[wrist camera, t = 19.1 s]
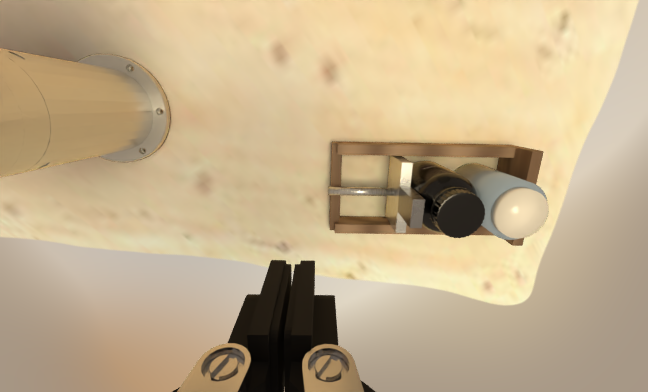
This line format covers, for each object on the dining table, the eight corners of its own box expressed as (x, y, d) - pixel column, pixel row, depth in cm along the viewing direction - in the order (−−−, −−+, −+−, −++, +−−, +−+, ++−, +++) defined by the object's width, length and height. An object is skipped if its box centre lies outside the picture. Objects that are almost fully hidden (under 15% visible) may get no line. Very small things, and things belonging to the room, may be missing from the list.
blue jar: (443, 208, 42) (484, 243, 31) (450, 162, 40) (496, 182, 29) (489, 209, 42) (546, 244, 31) (498, 163, 40) (561, 184, 29)
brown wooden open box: (329, 224, 42) (330, 242, 36) (331, 141, 39) (333, 147, 33) (494, 226, 42) (522, 245, 37) (510, 144, 39) (543, 151, 33)
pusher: (326, 214, 41) (329, 251, 31) (328, 153, 39) (331, 170, 28) (393, 215, 41) (418, 252, 31) (399, 154, 39) (428, 172, 29)
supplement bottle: (431, 149, 39) (478, 166, 28) (455, 190, 41) (510, 223, 29) (386, 179, 40) (413, 207, 29) (411, 218, 42) (447, 260, 30)
